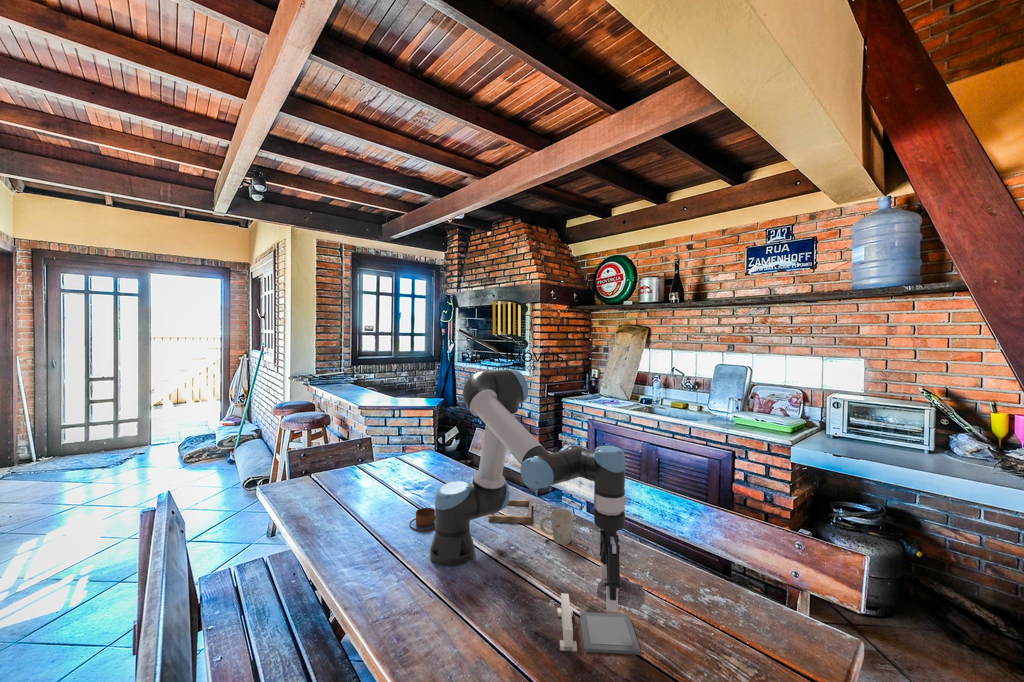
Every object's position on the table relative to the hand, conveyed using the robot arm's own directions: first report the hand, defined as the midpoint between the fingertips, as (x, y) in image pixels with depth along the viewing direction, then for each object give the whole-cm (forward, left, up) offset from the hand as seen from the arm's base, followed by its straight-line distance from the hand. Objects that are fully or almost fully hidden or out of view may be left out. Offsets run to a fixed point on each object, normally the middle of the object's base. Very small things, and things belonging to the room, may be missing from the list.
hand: (609, 599), depth 104 cm
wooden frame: (-29, +67, -9) cm, 74 cm away
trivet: (0, 0, -9) cm, 9 cm away
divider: (-11, +1, -9) cm, 14 cm away
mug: (-11, +47, -9) cm, 49 cm away
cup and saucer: (-62, +54, -9) cm, 83 cm away
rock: (0, +1, -1) cm, 2 cm away
